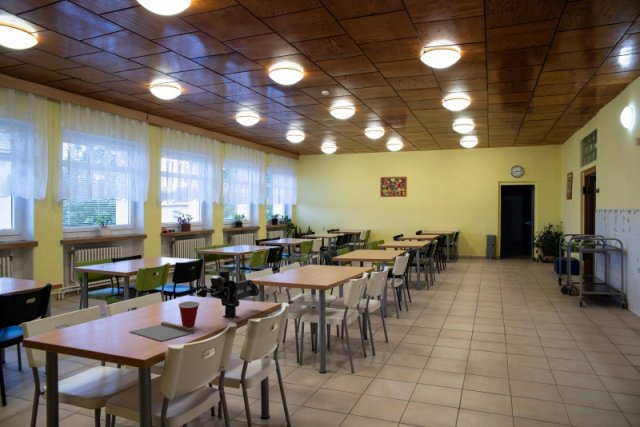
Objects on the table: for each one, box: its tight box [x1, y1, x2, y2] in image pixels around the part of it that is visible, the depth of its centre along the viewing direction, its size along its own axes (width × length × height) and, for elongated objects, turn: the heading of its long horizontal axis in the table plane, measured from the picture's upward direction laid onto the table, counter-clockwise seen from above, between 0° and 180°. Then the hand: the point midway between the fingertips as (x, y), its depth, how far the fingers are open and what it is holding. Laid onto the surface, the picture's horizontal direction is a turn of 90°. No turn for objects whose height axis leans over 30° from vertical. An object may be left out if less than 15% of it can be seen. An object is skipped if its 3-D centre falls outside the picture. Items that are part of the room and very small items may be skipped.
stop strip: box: [160, 320, 195, 334], centre depth 223 cm, size 2×24×2 cm, turn 54°
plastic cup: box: [177, 300, 201, 328], centre depth 228 cm, size 11×11×12 cm
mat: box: [128, 324, 193, 343], centre depth 215 cm, size 17×26×1 cm, turn 54°
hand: (204, 294), depth 228 cm, fingers open, 9 cm apart
